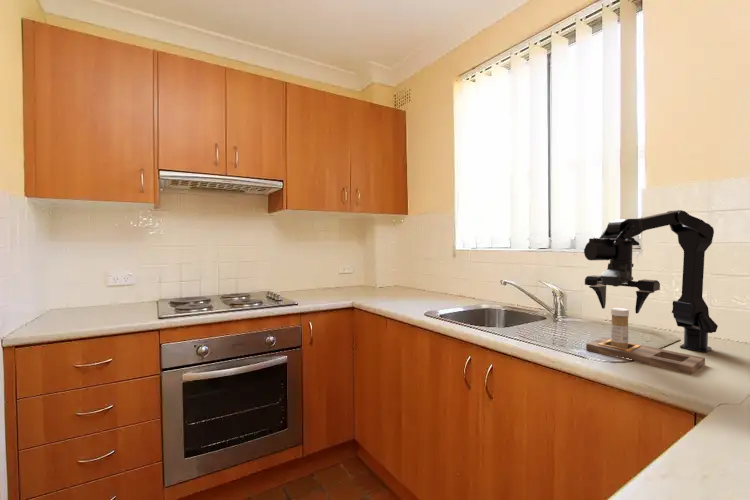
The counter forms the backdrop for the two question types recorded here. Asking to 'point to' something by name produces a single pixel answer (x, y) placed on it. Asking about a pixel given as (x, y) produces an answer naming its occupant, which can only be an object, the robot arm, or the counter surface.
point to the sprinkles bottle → (619, 327)
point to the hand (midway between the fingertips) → (619, 310)
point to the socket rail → (649, 356)
